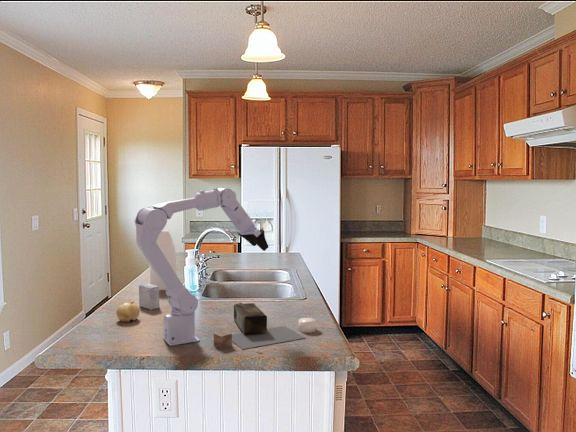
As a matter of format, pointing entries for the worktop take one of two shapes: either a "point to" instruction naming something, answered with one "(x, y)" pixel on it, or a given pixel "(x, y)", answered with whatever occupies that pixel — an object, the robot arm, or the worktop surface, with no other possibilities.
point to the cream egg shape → (307, 325)
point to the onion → (127, 312)
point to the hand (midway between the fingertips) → (261, 246)
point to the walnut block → (222, 339)
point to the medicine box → (149, 296)
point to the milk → (169, 252)
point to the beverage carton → (250, 318)
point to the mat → (265, 337)
